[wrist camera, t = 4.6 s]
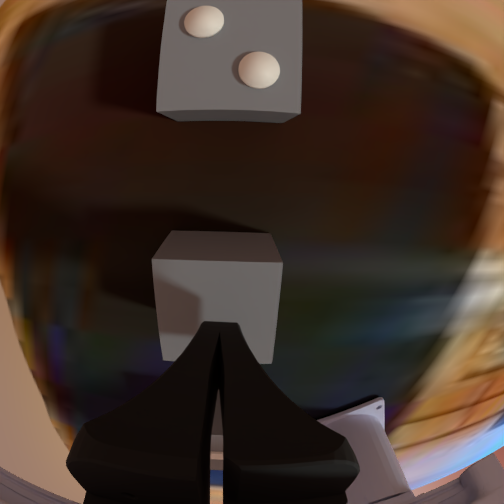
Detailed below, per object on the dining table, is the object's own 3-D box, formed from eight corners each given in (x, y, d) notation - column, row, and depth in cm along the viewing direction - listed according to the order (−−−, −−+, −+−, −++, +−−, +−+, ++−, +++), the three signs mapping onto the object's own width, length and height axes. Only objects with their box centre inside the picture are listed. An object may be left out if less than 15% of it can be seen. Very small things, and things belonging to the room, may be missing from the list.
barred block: (253, 429, 20) (257, 472, 16) (191, 427, 20) (186, 469, 16) (259, 390, 19) (265, 438, 15) (186, 387, 18) (180, 434, 14)
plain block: (263, 317, 17) (271, 363, 13) (176, 315, 16) (163, 360, 12) (270, 233, 15) (282, 262, 11) (171, 230, 15) (151, 258, 11)
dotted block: (282, 122, 13) (301, 113, 9) (177, 121, 13) (154, 110, 9) (285, 32, 11) (303, -5, 7) (183, 30, 11) (167, -8, 7)
